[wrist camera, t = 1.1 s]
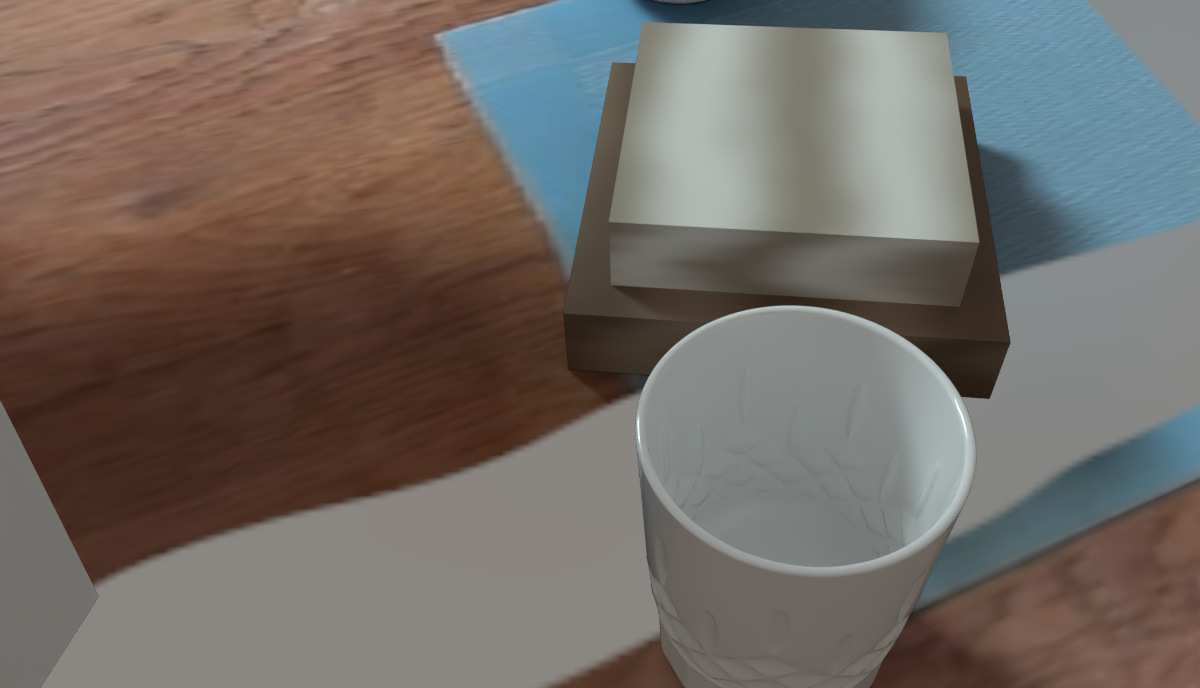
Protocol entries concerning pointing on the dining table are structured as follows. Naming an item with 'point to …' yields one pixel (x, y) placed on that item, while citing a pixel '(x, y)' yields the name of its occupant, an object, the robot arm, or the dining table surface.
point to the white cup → (795, 495)
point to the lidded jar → (680, 1)
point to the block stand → (786, 196)
